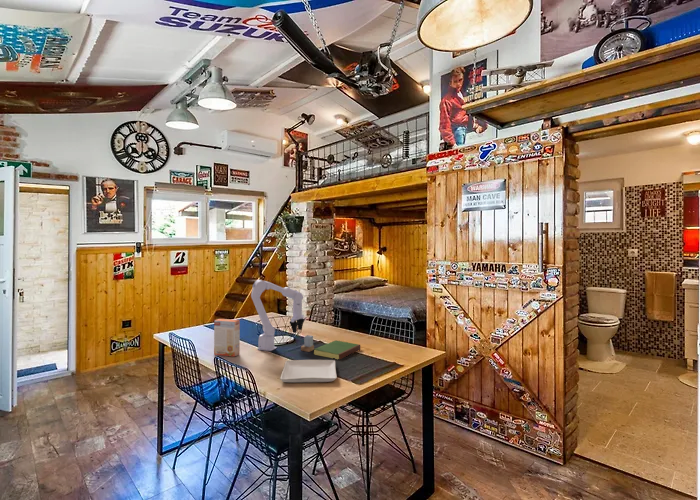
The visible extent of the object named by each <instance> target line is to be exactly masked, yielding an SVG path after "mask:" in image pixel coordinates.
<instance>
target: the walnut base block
mask: <svg viewBox="0 0 700 500" xmlns="http://www.w3.org/2000/svg"><path fill="white" fill-rule="evenodd" d="M314 349H315V345H314V344H313V346H311V347H306V346H304V344H303V345H301V346H300V351H302V352H305V353H309V352H312V351H314Z"/></svg>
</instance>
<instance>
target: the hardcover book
mask: <svg viewBox="0 0 700 500" xmlns="http://www.w3.org/2000/svg"><path fill="white" fill-rule="evenodd" d="M358 350H359V351H361V344H358V343H352V342H347V341H342V340H341V341H340V340H334V341H331V342H328V343H326V344H323V345H321V346H318V347H316V348H315V347H314V350H313V355H315V356H320V357H324V358H330V359H333V358H335V359H334V360H338V359H341V360H343V359H344V357H345V358H347V357H348V355H349V354H351V353H353V354H355V353H356V351H357V352H358ZM354 352H355V353H354ZM351 355H352V354H351ZM346 356H347V357H346ZM349 356H350V355H349ZM342 358H343V359H342Z"/></svg>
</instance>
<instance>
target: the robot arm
mask: <svg viewBox="0 0 700 500" xmlns="http://www.w3.org/2000/svg"><path fill="white" fill-rule="evenodd" d="M265 290H268V291H269V290H272V291H273V290H274V291H276V292H279V293H281V294H282V296H283V297H286V298H289V299H290V300H292V318H291V319H290V321H289V325H290V326H291V327H290V328H291V330H292V333H294V334H296V333H297V331H302V329H303V325H304V323H305V321H306V319H305V318H304V317H305V315H303V300H304V295H303V293H302V292H299V290H296V289H292V288H291V287H289V286H288V287H287V286H285V287H282V286H280V285H278V284H276V283H275V284H274V283H272V282H270V281H266V280H262V279H256V280H255V281H254V283H253V284H252V289H251V294H250V297H251V300H252V302H253V305H254V306H255V310H256V312H257V314H258V316H259V319H260V321H261V324H262V331H263V333H262V334H260V335H259V336H258V345H257V346H258V348H257V350H260V351H267V352H273V351H274V350H275V349H277V348H278V347H277V346H275V331H276V329H275V327H274V326H273V324H272V323H271V321H270V319H269V317H268V314H267V312H266V310H265V306H264V304H263V302H262V300H261V295H262V293H264V292H265Z"/></svg>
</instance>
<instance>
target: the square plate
mask: <svg viewBox="0 0 700 500" xmlns="http://www.w3.org/2000/svg"><path fill="white" fill-rule="evenodd" d="M337 378H338V376H337V370H336V359H298V360H297V359H296V360H295V359H293V360H291V359H290V360H285V362H284V365H283V369H282V372H281V374H280V377H279V379H280V381H281V382H284V383H327V382H328V383H330V382H333V381H335V380H336V379H337Z"/></svg>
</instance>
